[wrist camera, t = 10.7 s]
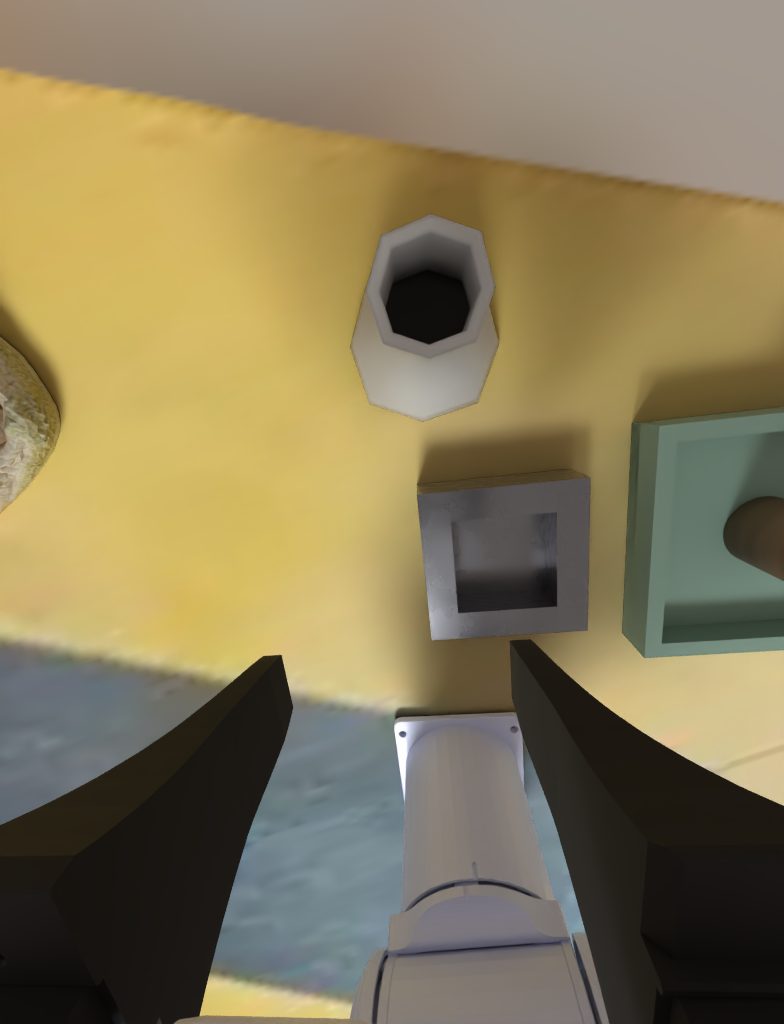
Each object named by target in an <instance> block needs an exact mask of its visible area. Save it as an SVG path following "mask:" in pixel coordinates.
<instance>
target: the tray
mask: <svg viewBox="0 0 784 1024" xmlns="http://www.w3.org/2000/svg"><path fill="white" fill-rule="evenodd" d="M763 496H775V497H780V498H784V407H776V408H767V409H758V410H749V411H740V412H730V413H721V414H712V415H703V416H694V417H685V418H676V419H667V420H657V421H648V422H639V423H632V435H631V457H630V478H629V500H628V521H627V542H626V564H625V585H624V607H623V628H622V633H623V634H624V636H625V637H626V638H627V639H628V640H629V641H630V642H631V643H632V645H633V646H634V647H635V648H636V649H637V650H638V651H639V652H640V654H641V655H642V656H643V657H644V658H654V657H672V656H689V655H707V654H725V653H742V652H760V651H778V650H784V581H782V580H780V579H778V578H776V577H774V576H772V575H770V574H768V573H766V572H764V571H762V570H760V569H758V568H756V567H754V566H752V565H750V564H748V563H746V562H744V561H742V560H740V559H738V558H736V557H734V556H733V555H731V554H730V553H729V551H728V550H727V548H726V546H725V544H724V538H723V535H724V529H725V526H726V523H727V521H728V519H729V518H730V516H731V515H732V514H733V513H734V512H735V511H736V510H737V509H738V508H739V507H740V506H741V505H743V504H744V503H746V502H748V501H750V500H752V499H755V498H758V497H763Z"/></svg>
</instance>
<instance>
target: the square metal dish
mask: <svg viewBox="0 0 784 1024" xmlns="http://www.w3.org/2000/svg"><path fill="white" fill-rule="evenodd" d="M417 500H418V509H419V519H420V529H421V539H422V549H423V559H424V569H425V579H426V589H427V599H428V608H429V618H430V628H431V638H432V640H446V639H462V638H478V637H494V636H509V635H525V634H541V633H557V632H572V631H587V630H588V579H589V529H590V477H587V476H585V475H583V474H581V473H578V472H576V471H574V470H571V469H564V470H554V471H544V472H534V473H524V474H514V475H504V476H494V477H484V478H475V479H465V480H455V481H445V482H435V483H425V484H417Z"/></svg>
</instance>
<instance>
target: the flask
mask: <svg viewBox="0 0 784 1024" xmlns="http://www.w3.org/2000/svg"><path fill="white" fill-rule="evenodd" d="M494 290H495V284H494V280H493V276H492V272H491V268H490V264H489V260H488V256H487V252H486V248H485V244H484V240H483V236H482V232H481V231H479V230H476V229H473V228H470V227H467V226H465V225H462V224H459V223H456V222H453V221H450V220H447V219H444V218H442V217H439V216H436V215H433V214H429V215H427V216H425V217H422V218H420V219H418V220H415V221H413V222H411V223H408V224H406V225H404V226H401V227H399V228H397V229H394V230H392V231H390V232H387V233H385V234H383V235H381V236H380V240H379V244H378V247H377V251H376V255H375V259H374V262H373V266H372V270H371V274H370V277H369V281H368V284H367V286H366V289H365V293H364V297H363V301H362V304H361V308H360V312H359V316H358V319H357V323H356V327H355V331H354V334H353V338H352V342H351V345H350V348H351V351H352V354H353V357H354V360H355V363H356V366H357V368H358V371H359V374H360V377H361V380H362V383H363V386H364V389H365V392H366V394H367V397H368V400H369V403H370V404H371V405H374V406H377V407H380V408H383V409H386V410H389V411H392V412H395V413H398V414H401V415H404V416H407V417H410V418H413V419H416V420H419V421H422V422H424V421H427V420H429V419H432V418H435V417H438V416H441V415H444V414H447V413H450V412H452V411H455V410H458V409H461V408H464V407H467V406H470V405H473V404H475V403H478V400H479V397H480V395H481V392H482V389H483V387H484V384H485V381H486V378H487V376H488V373H489V370H490V368H491V365H492V362H493V360H494V357H495V354H496V351H497V349H498V346H499V341H498V337H497V333H496V329H495V325H494V321H493V318H492V314H491V310H490V306H489V304H490V301H491V299H492V296H493V293H494Z"/></svg>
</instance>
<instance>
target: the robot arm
mask: <svg viewBox="0 0 784 1024" xmlns="http://www.w3.org/2000/svg"><path fill="white" fill-rule="evenodd" d="M510 658H511V684H512V699H513V703H514V707H515V711H516V713H515V712H506V713H484V714H462V715H440V716H418V717H400V718H397V719H396V720H395V722H394V731H395V739H396V746H397V753H398V760H399V767H400V774H401V781H402V789H403V796H404V803H405V809H404V841H403V872H402V904H401V913H400V914H394V915H391V916H390V920H389V938H388V948H382V949H377V950H375V951H374V952H373V953H372V955H371V957H370V959H369V960H368V963H367V966H366V968H365V970H364V972H363V973H362V975H361V977H360V979H359V982H358V985H357V988H356V991H355V995H354V1000H353V1005H352V1010H351V1016H350V1019H328V1018H287V1017H246V1016H199V1015H200V1011H201V1006H202V1002H203V998H204V993H205V989H206V985H207V981H208V977H209V973H210V969H211V965H212V961H213V957H214V953H215V949H216V946H217V942H218V938H219V934H220V930H221V926H222V922H223V919H224V915H225V912H226V908H227V904H228V901H229V897H230V894H231V890H232V886H233V883H234V879H235V876H236V873H237V869H238V866H239V863H240V859H241V856H242V853H243V849H244V846H245V843H246V839H247V836H248V833H249V830H250V828H251V825H252V822H253V819H254V817H255V814H256V812H257V809H258V807H259V804H260V802H261V799H262V797H263V794H264V792H265V789H266V787H267V784H268V782H269V779H270V777H271V774H272V772H273V769H274V767H275V764H276V761H277V759H278V756H279V754H280V751H281V749H282V746H283V743H284V741H285V737H286V734H287V730H288V727H289V723H290V719H291V715H292V710H293V704H292V700H291V696H290V691H289V687H288V682H287V678H286V673H285V669H284V664H283V660H282V655H274V656H263V657H262V658H260V659H259V660H258V661H256V662H255V663H254V664H253V665H251V666H250V667H249V668H248V669H247V670H245V671H244V672H243V673H242V674H241V675H240V676H238V677H237V678H236V679H235V680H234V681H233V682H231V683H230V684H229V685H228V686H227V687H226V688H224V689H223V690H222V691H221V692H220V693H218V694H217V695H216V696H215V697H214V698H212V699H211V700H210V701H209V702H207V703H206V704H205V705H204V706H202V707H201V708H200V709H199V710H197V711H196V712H195V713H193V714H192V715H191V716H190V717H188V718H187V719H186V720H185V721H183V722H182V723H181V724H179V725H178V726H177V727H175V728H174V729H173V730H171V731H170V732H168V733H167V734H165V735H164V736H163V737H161V738H160V739H158V740H157V741H155V742H154V743H152V744H151V745H149V746H148V747H146V748H145V749H143V750H142V751H140V752H139V753H137V754H135V755H134V756H132V757H130V758H129V759H127V760H125V761H124V762H122V763H120V764H119V765H117V766H115V767H114V768H112V769H110V770H109V771H107V772H105V773H104V774H102V775H100V776H99V777H97V778H95V779H93V780H91V781H90V782H88V783H86V784H84V785H82V786H80V787H78V788H77V789H75V790H73V791H71V792H69V793H67V794H65V795H63V796H61V797H59V798H57V799H55V800H53V801H51V802H49V803H47V804H45V805H43V806H41V807H39V808H37V809H35V810H33V811H30V812H28V813H26V814H24V815H22V816H19V817H17V818H15V819H13V820H11V821H9V822H6V823H4V824H2V825H0V1024H784V806H783V805H780V804H778V803H776V802H774V801H771V800H769V799H767V798H765V797H762V796H760V795H758V794H756V793H753V792H751V791H749V790H747V789H744V788H742V787H740V786H738V785H736V784H734V783H732V782H730V781H728V780H726V779H724V778H722V777H720V776H718V775H716V774H714V773H713V772H711V771H709V770H707V769H705V768H703V767H701V766H699V765H697V764H695V763H694V762H692V761H690V760H688V759H686V758H684V757H683V756H681V755H679V754H678V753H676V752H674V751H672V750H671V749H669V748H667V747H666V746H664V745H662V744H661V743H659V742H657V741H656V740H654V739H652V738H651V737H649V736H648V735H646V734H644V733H643V732H641V731H640V730H638V729H637V728H635V727H634V726H632V725H631V724H630V723H628V722H627V721H625V720H624V719H622V718H621V717H619V716H618V715H616V714H615V713H614V712H612V711H611V710H610V709H608V708H607V707H606V706H604V705H603V704H602V703H601V702H599V701H598V700H597V699H595V698H594V697H593V696H592V695H590V694H589V693H588V692H587V691H586V690H584V689H583V688H582V687H581V686H580V685H579V684H578V683H576V682H575V681H574V680H573V679H572V678H571V677H570V676H569V675H567V674H566V673H565V672H564V671H563V670H562V669H561V668H560V667H559V666H558V665H557V664H556V663H554V662H553V661H552V660H551V659H550V658H549V657H548V656H547V655H546V654H545V653H544V652H543V651H542V650H541V649H540V648H539V647H538V646H537V645H536V644H535V643H534V642H533V641H532V640H531V639H528V640H513V641H510ZM513 726H516V727H515V728H511V727H513ZM400 731H405V732H404V733H402V732H400ZM522 736H523V738H524V741H525V744H526V746H527V749H528V752H529V754H530V757H531V760H532V762H533V765H534V768H535V770H536V773H537V776H538V778H539V781H540V784H541V786H542V789H543V791H544V794H545V797H546V799H547V802H548V805H549V807H550V810H551V813H552V816H553V819H554V822H555V825H556V828H557V831H558V835H559V838H560V842H561V845H562V849H563V852H564V856H565V859H566V863H567V866H568V870H569V873H570V877H571V881H572V884H573V888H574V891H575V895H576V899H577V902H578V906H579V910H580V913H581V917H582V921H583V924H584V928H585V932H586V933H584V932H579V933H572V939H573V946H574V950H575V953H574V950H573V947H572V944H571V941H570V937H569V933H568V930H567V926H566V923H565V919H564V915H563V912H562V908H561V905H560V902H559V901H558V900H555V899H554V895H553V892H552V888H551V884H550V881H549V877H548V874H547V870H546V866H545V863H544V859H543V856H542V852H541V848H540V845H539V841H538V837H537V834H536V830H535V827H534V823H533V819H532V816H531V812H530V808H529V805H528V801H527V798H526V794H525V790H524V769H523V738H522ZM575 955H576V956H575Z"/></svg>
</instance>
